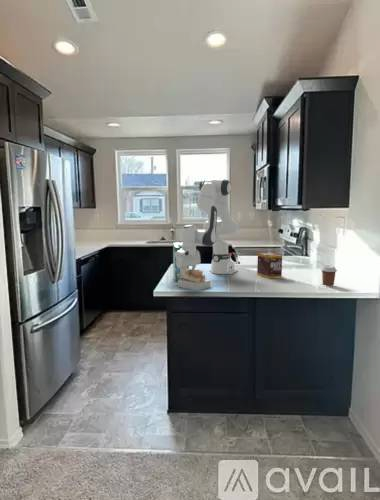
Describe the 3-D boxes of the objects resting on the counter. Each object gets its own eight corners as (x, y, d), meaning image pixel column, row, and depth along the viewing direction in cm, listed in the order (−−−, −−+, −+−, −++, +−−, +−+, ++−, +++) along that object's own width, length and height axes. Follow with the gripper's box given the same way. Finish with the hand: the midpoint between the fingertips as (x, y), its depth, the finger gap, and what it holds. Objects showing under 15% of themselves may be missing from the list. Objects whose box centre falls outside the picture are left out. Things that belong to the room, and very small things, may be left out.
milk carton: (175, 281, 232) (175, 243, 229) (173, 278, 241) (173, 242, 237) (188, 280, 234) (188, 243, 230) (186, 278, 242) (186, 242, 239)
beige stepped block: (186, 275, 225) (186, 267, 224) (205, 280, 216) (205, 272, 215) (179, 277, 220) (180, 269, 219) (198, 282, 211) (199, 274, 210)
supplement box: (269, 278, 240) (269, 256, 237) (256, 274, 254) (257, 253, 252) (282, 277, 243) (282, 255, 241) (269, 273, 258) (269, 252, 255)
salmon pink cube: (196, 275, 218) (197, 269, 217) (202, 277, 216) (202, 270, 215) (193, 276, 215) (193, 270, 214) (198, 278, 213) (198, 272, 212)
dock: (190, 283, 228) (190, 276, 227) (210, 286, 218) (210, 280, 217) (177, 286, 218) (177, 280, 217) (198, 290, 208) (198, 284, 207)
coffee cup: (338, 285, 219) (339, 266, 217) (331, 288, 213) (332, 268, 211) (324, 283, 226) (325, 264, 224) (317, 285, 219) (318, 266, 218)
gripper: (195, 249, 227) (195, 270, 229) (174, 252, 211) (174, 275, 213) (203, 249, 223) (202, 271, 225) (182, 253, 207) (182, 276, 209)
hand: (188, 273), depth 219 cm, fingers closed on beige stepped block, 7 cm apart
